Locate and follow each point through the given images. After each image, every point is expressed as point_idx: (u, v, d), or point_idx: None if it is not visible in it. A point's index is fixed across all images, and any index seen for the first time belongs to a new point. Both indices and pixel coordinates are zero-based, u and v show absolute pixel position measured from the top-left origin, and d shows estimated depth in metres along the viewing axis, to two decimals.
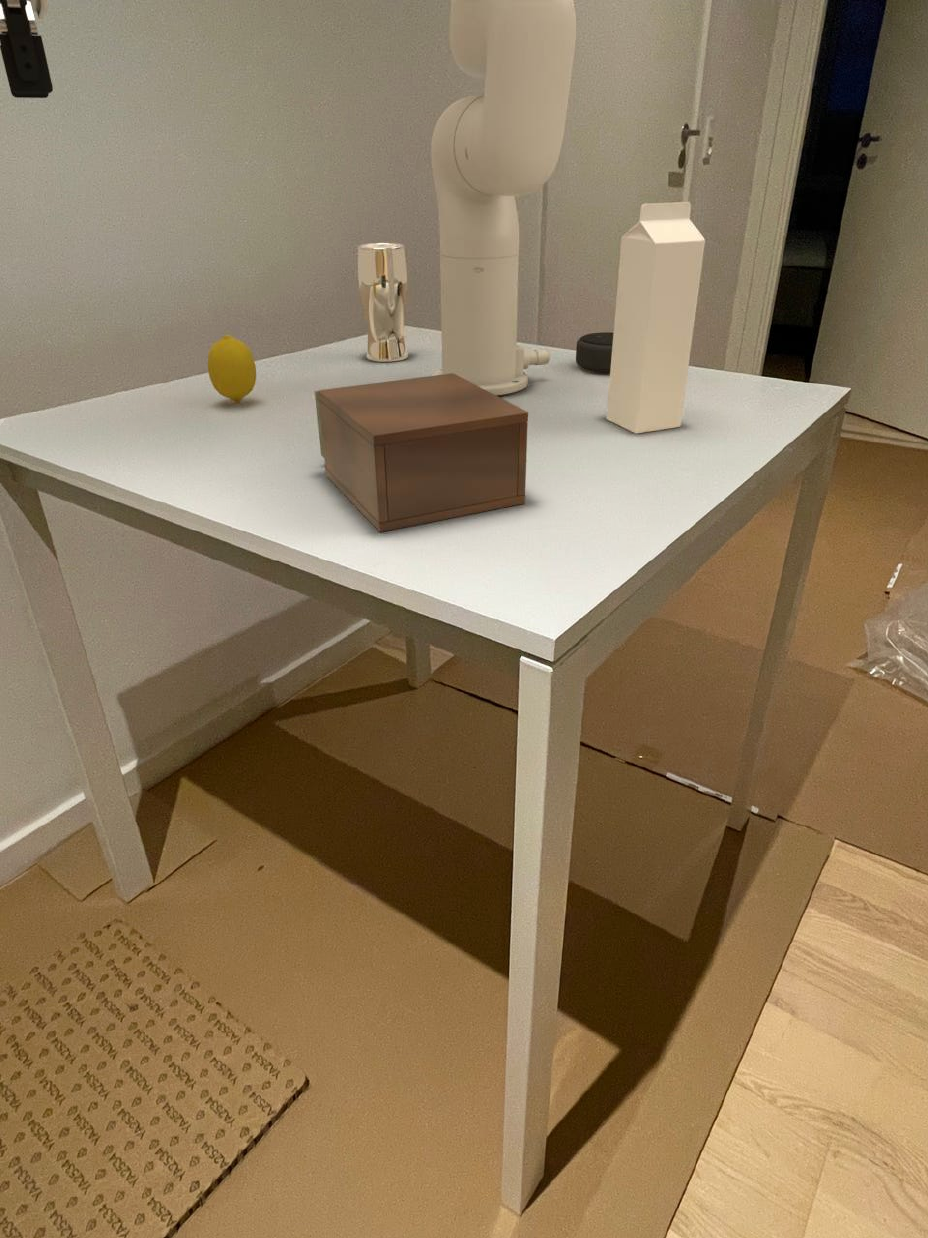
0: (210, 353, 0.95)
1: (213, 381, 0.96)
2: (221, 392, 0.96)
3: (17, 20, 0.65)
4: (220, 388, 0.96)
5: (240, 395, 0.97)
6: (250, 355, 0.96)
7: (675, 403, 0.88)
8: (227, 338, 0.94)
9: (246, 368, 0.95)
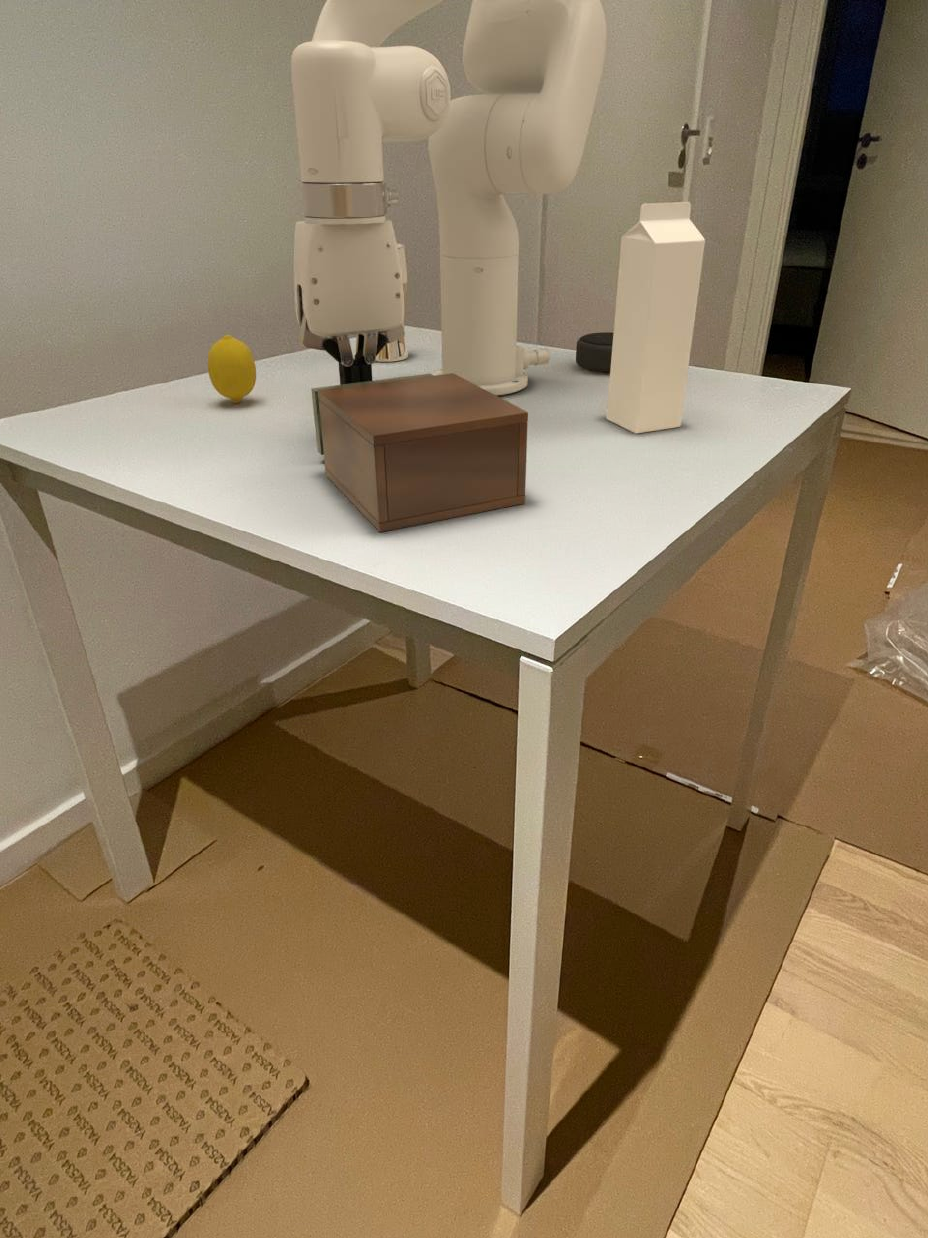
0: (210, 353, 0.95)
1: (213, 381, 0.96)
2: (221, 392, 0.96)
3: None
4: (220, 388, 0.96)
5: (240, 395, 0.97)
6: (250, 355, 0.96)
7: (675, 403, 0.88)
8: (227, 338, 0.94)
9: (246, 368, 0.95)
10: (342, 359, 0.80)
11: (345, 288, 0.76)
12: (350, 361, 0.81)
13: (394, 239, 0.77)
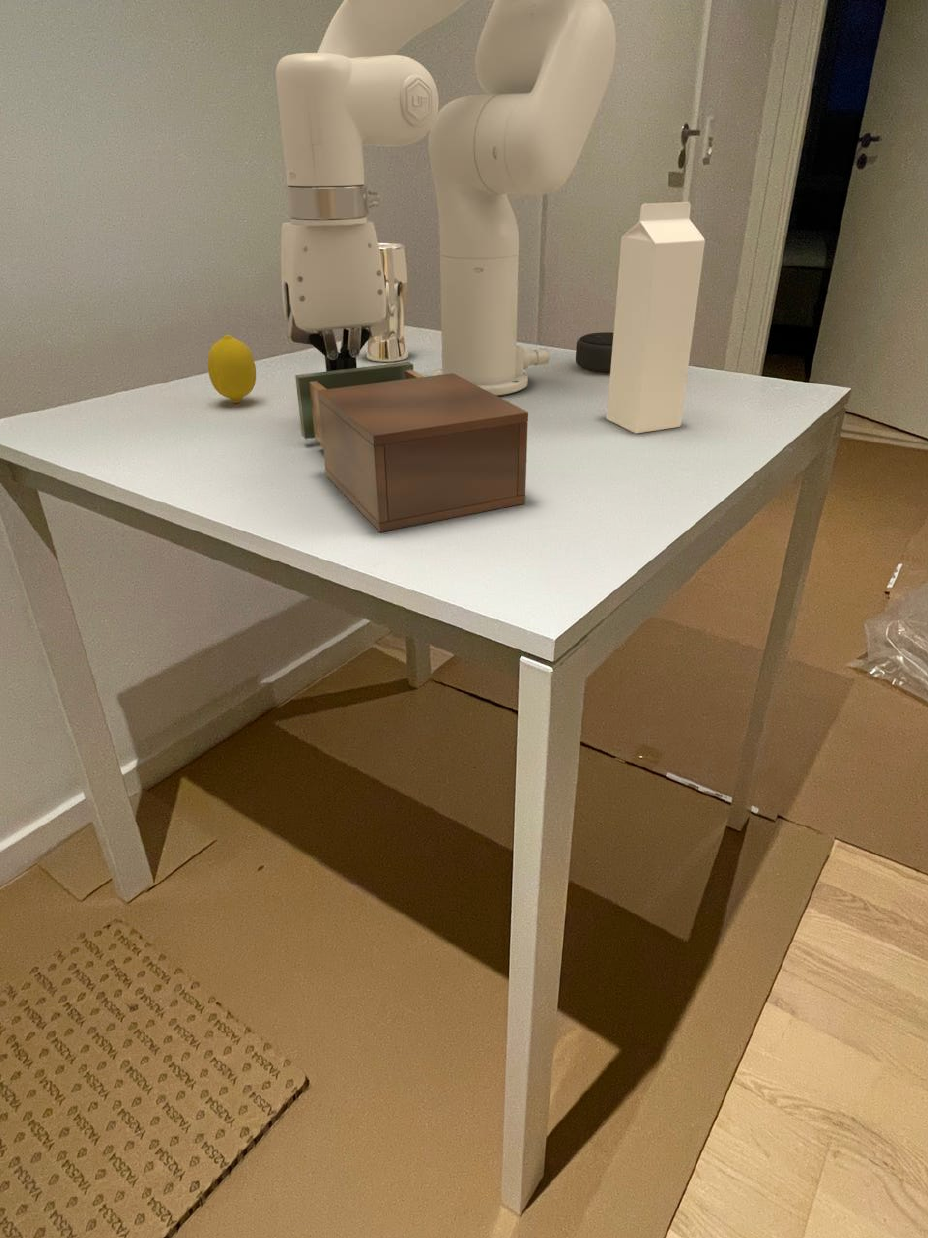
0: (210, 353, 0.95)
1: (213, 381, 0.96)
2: (221, 392, 0.96)
3: None
4: (220, 388, 0.96)
5: (240, 395, 0.97)
6: (250, 355, 0.96)
7: (675, 403, 0.88)
8: (227, 338, 0.94)
9: (246, 368, 0.95)
10: (328, 353, 0.85)
11: (329, 285, 0.81)
12: (335, 354, 0.86)
13: (375, 239, 0.81)
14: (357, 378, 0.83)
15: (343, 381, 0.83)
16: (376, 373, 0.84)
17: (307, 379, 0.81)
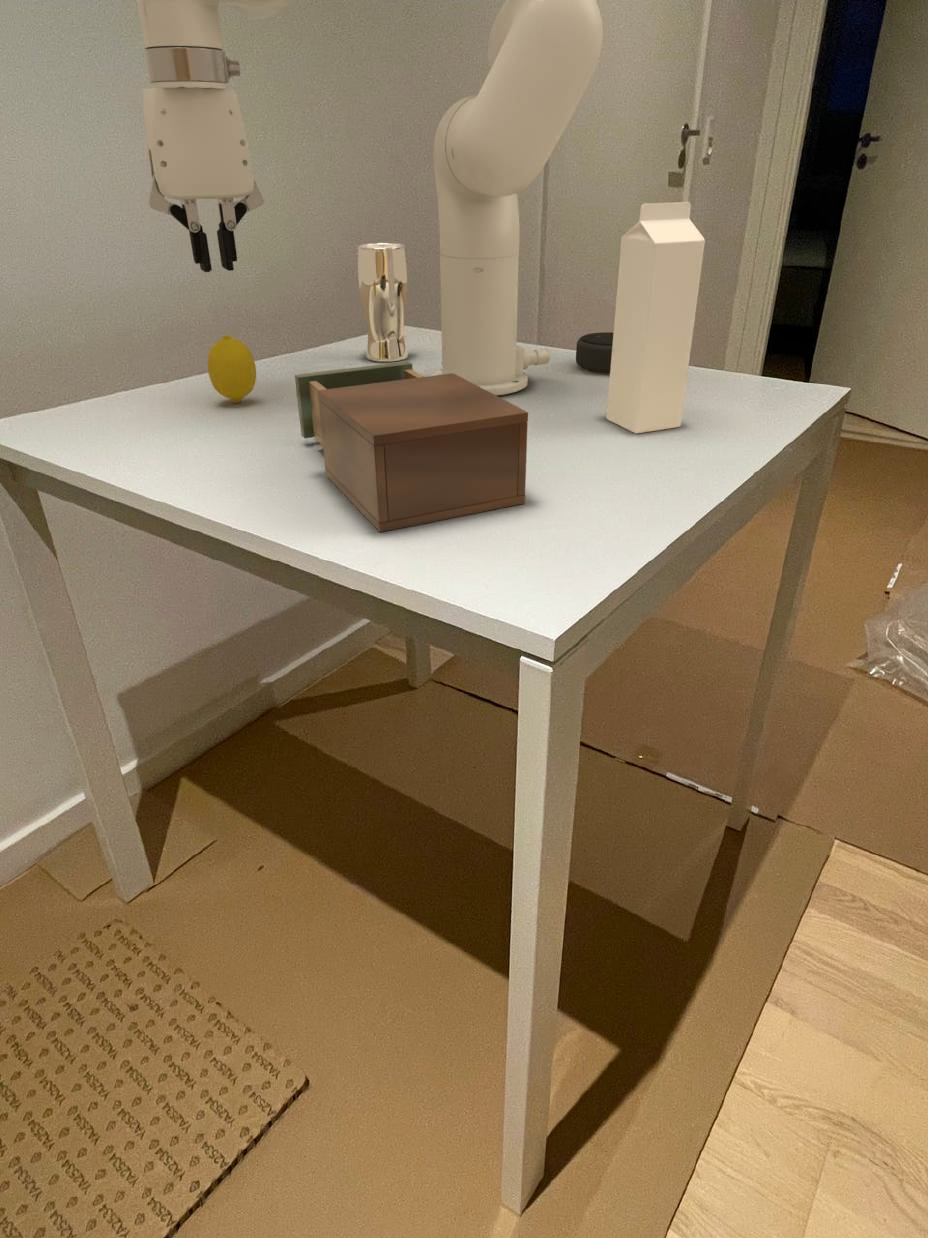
0: (210, 353, 0.95)
1: (213, 381, 0.96)
2: (221, 392, 0.96)
3: None
4: (220, 388, 0.96)
5: (240, 395, 0.97)
6: (250, 355, 0.96)
7: (675, 403, 0.88)
8: (227, 338, 0.94)
9: (246, 368, 0.95)
10: (189, 224, 0.87)
11: (191, 151, 0.83)
12: (197, 227, 0.87)
13: (237, 107, 0.83)
14: (356, 378, 0.84)
15: (342, 380, 0.83)
16: (376, 372, 0.84)
17: (307, 379, 0.81)
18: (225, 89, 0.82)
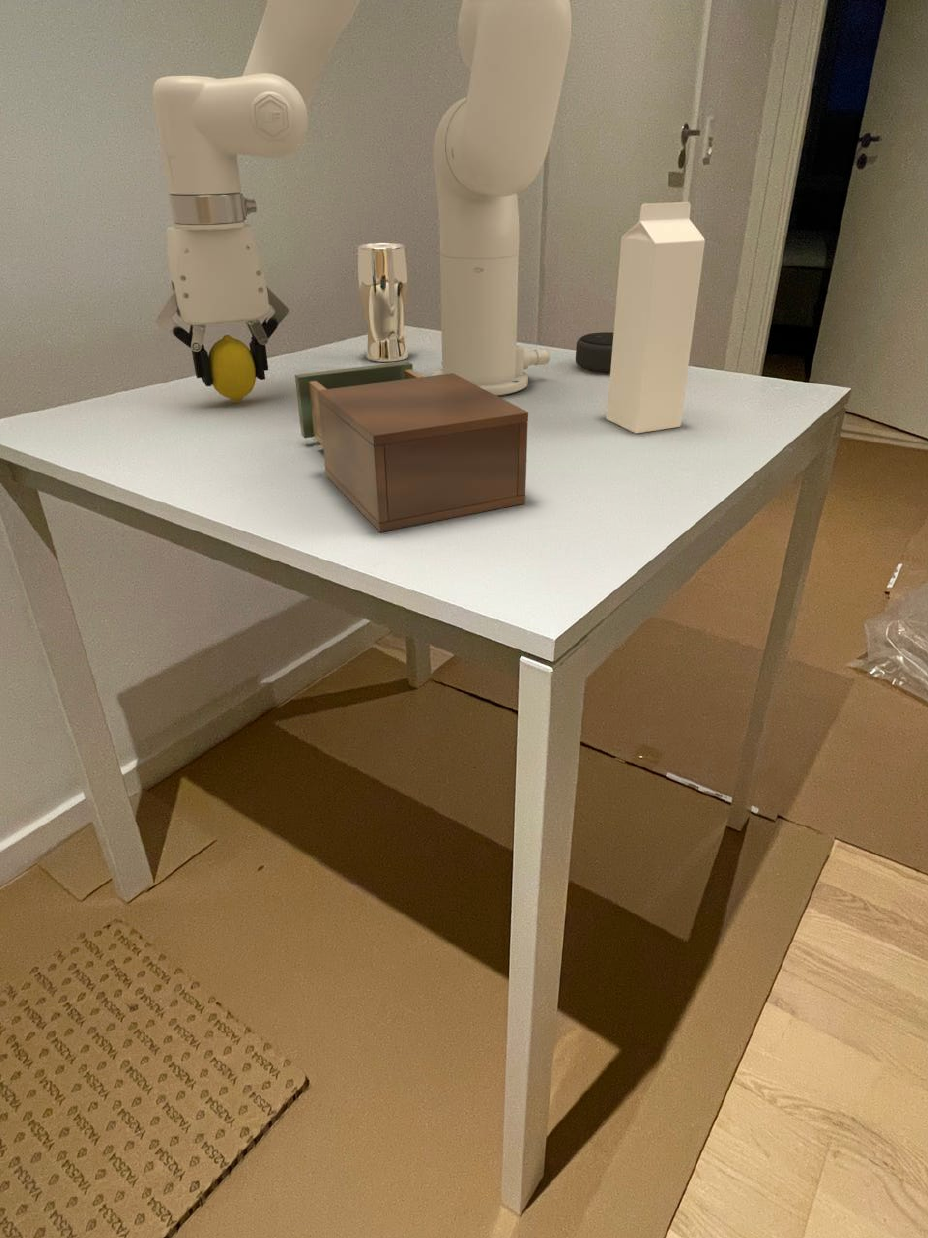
0: (210, 353, 0.95)
1: (213, 381, 0.96)
2: (221, 392, 0.96)
3: None
4: (220, 388, 0.96)
5: (240, 395, 0.97)
6: (250, 355, 0.96)
7: (675, 403, 0.88)
8: (227, 338, 0.94)
9: (246, 368, 0.95)
10: (191, 345, 0.92)
11: (211, 284, 0.89)
12: (199, 347, 0.93)
13: (253, 242, 0.90)
14: (356, 378, 0.84)
15: (342, 380, 0.83)
16: (376, 372, 0.84)
17: (307, 379, 0.81)
18: (243, 227, 0.88)
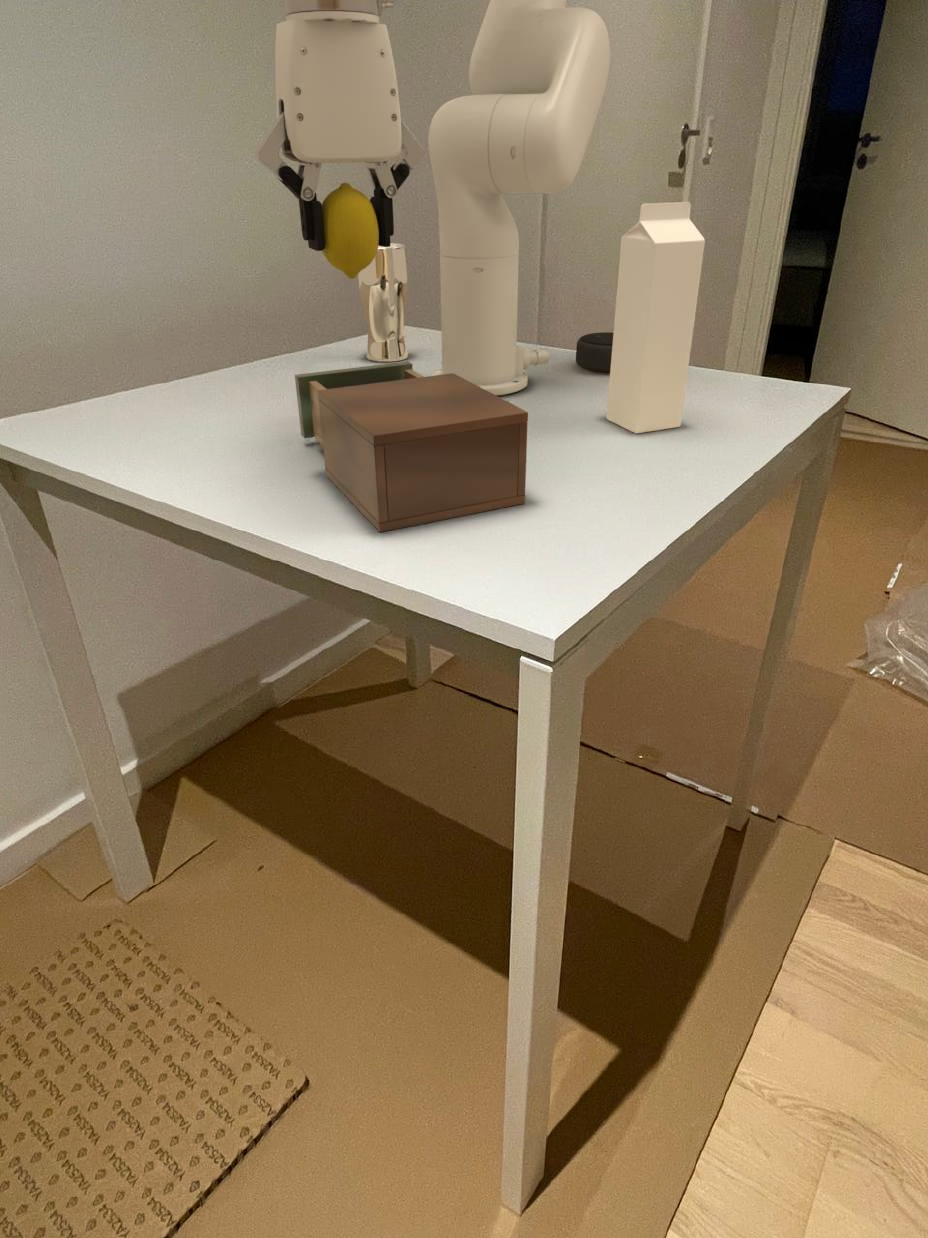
0: (323, 206, 0.72)
1: (325, 245, 0.73)
2: (335, 260, 0.74)
3: None
4: (334, 254, 0.73)
5: (359, 265, 0.74)
6: (374, 211, 0.73)
7: (675, 403, 0.88)
8: (346, 186, 0.72)
9: (369, 227, 0.73)
10: (301, 191, 0.70)
11: (333, 102, 0.67)
12: (311, 194, 0.70)
13: (389, 47, 0.67)
14: (356, 378, 0.84)
15: (342, 380, 0.83)
16: (376, 372, 0.84)
17: (307, 379, 0.81)
18: (377, 24, 0.66)
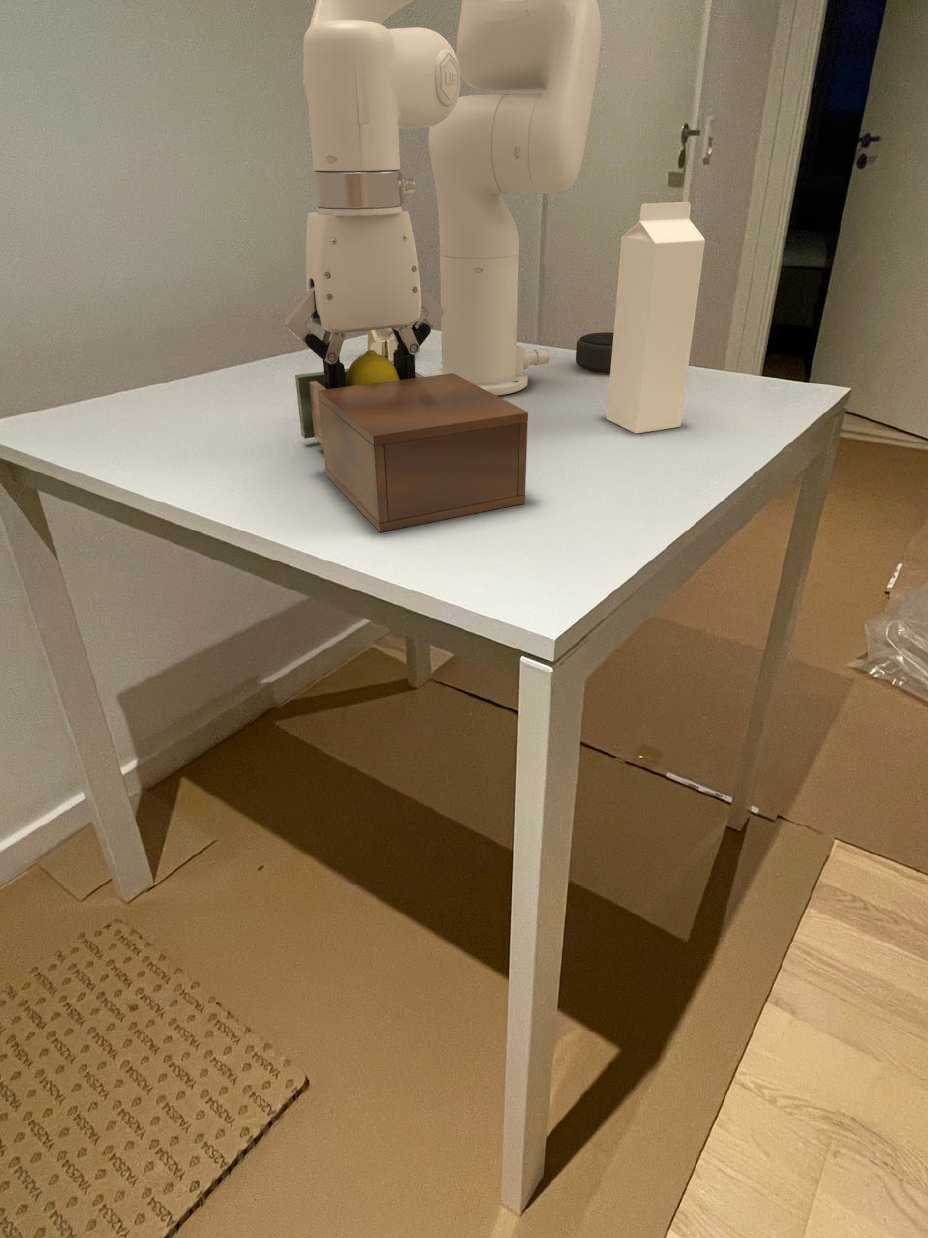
0: (350, 372, 0.78)
1: None
2: None
3: None
4: None
5: None
6: (397, 374, 0.80)
7: (675, 403, 0.88)
8: (371, 354, 0.78)
9: None
10: (326, 356, 0.76)
11: (360, 282, 0.73)
12: (334, 358, 0.76)
13: (411, 231, 0.73)
14: None
15: None
16: None
17: (307, 379, 0.81)
18: (401, 213, 0.72)
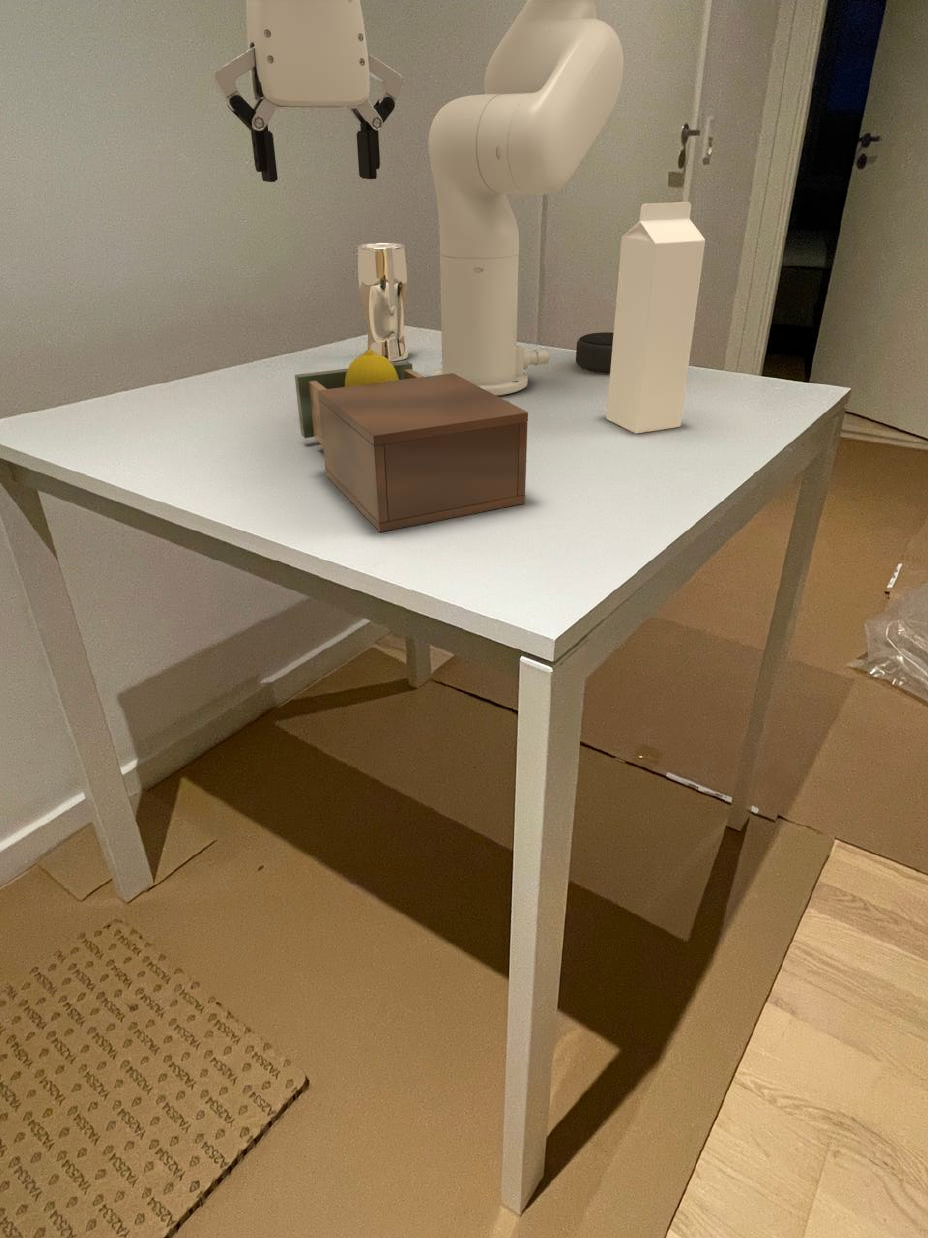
0: (350, 372, 0.79)
1: None
2: None
3: None
4: None
5: None
6: (396, 374, 0.80)
7: (675, 403, 0.88)
8: (370, 354, 0.78)
9: None
10: (252, 120, 0.71)
11: (302, 45, 0.69)
12: (262, 124, 0.72)
13: None
14: None
15: (342, 380, 0.83)
16: None
17: (306, 379, 0.81)
18: None
